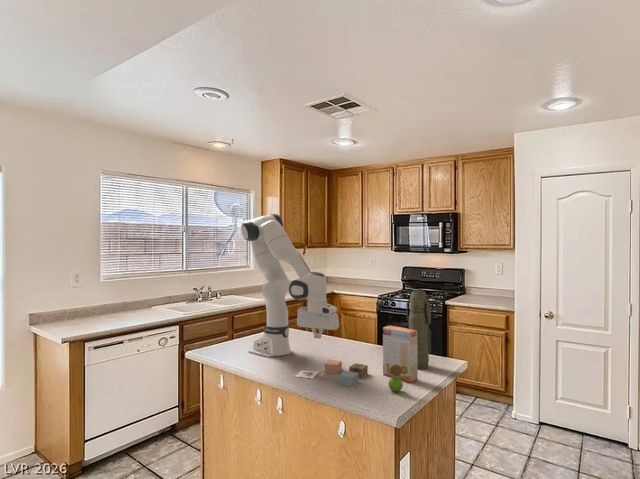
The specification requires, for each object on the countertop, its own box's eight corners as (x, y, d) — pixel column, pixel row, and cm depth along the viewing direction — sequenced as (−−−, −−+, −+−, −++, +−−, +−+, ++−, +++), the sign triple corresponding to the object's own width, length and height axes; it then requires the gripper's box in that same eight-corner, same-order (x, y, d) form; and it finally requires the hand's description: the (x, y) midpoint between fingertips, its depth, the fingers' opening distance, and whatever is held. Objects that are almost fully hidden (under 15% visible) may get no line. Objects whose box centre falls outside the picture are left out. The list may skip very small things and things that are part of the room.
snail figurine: (386, 387, 153) (386, 357, 153) (403, 389, 151) (403, 358, 151) (385, 392, 148) (385, 361, 148) (402, 394, 146) (402, 363, 146)
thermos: (427, 371, 172) (427, 292, 172) (402, 366, 179) (402, 290, 179) (434, 366, 179) (434, 290, 179) (410, 361, 186) (410, 288, 186)
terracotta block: (324, 372, 172) (324, 363, 172) (329, 368, 177) (329, 359, 177) (337, 374, 170) (337, 365, 170) (341, 370, 175) (341, 361, 175)
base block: (349, 376, 167) (349, 366, 167) (355, 372, 172) (355, 363, 172) (361, 378, 164) (361, 369, 164) (367, 374, 169) (367, 365, 169)
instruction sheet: (294, 376, 166) (294, 375, 166) (301, 370, 173) (301, 370, 173) (312, 379, 163) (312, 378, 163) (318, 372, 171) (318, 371, 171)
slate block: (338, 384, 157) (338, 374, 157) (345, 380, 162) (345, 370, 162) (352, 387, 154) (352, 377, 154) (358, 382, 159) (358, 373, 159)
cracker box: (418, 379, 162) (418, 329, 162) (410, 383, 158) (410, 332, 158) (390, 371, 172) (390, 324, 172) (382, 374, 168) (382, 326, 168)
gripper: (294, 307, 179) (294, 337, 179) (334, 310, 170) (334, 341, 170) (300, 305, 185) (301, 334, 184) (340, 308, 175) (340, 338, 175)
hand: (317, 338), depth 177 cm, fingers closed
